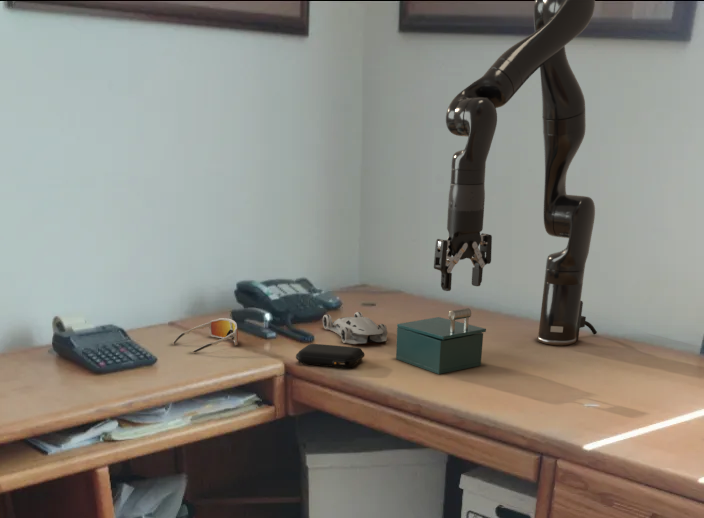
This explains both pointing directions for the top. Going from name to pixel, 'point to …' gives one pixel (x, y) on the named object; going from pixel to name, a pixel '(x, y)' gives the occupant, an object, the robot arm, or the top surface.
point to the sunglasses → (216, 331)
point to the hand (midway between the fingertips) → (461, 288)
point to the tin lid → (444, 325)
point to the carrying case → (330, 355)
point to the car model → (356, 329)
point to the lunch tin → (439, 351)
